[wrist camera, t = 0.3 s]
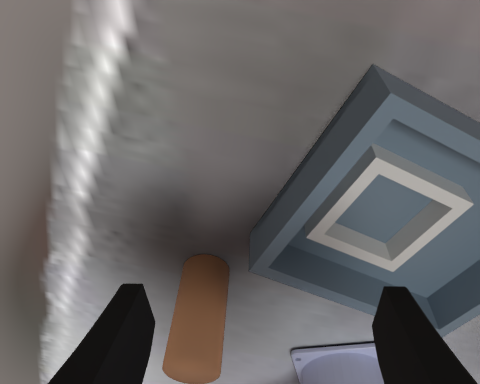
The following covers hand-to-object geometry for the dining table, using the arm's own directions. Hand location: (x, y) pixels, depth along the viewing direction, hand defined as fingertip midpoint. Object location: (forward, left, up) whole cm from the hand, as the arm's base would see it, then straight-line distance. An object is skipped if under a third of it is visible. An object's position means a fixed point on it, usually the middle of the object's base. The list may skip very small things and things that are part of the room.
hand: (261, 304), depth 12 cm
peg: (-9, +6, -10) cm, 15 cm away
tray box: (-6, -7, -10) cm, 14 cm away
